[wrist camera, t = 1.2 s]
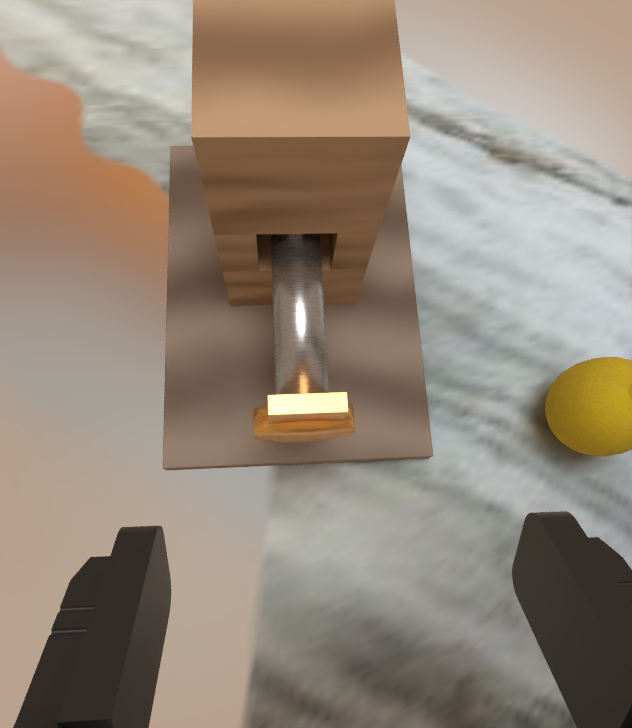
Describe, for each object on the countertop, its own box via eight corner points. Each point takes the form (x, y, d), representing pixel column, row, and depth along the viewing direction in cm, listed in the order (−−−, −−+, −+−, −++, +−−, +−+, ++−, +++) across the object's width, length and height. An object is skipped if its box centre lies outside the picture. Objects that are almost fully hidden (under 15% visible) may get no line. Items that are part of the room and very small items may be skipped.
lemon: (607, 385, 37) (694, 347, 29) (608, 469, 35) (700, 453, 27) (525, 372, 37) (590, 331, 29) (522, 455, 35) (590, 435, 27)
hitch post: (428, 458, 35) (561, 395, 18) (166, 470, 33) (54, 415, 17) (395, 155, 41) (473, -97, 24) (173, 157, 40) (97, -107, 23)
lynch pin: (349, 440, 29) (368, 415, 22) (255, 444, 28) (248, 420, 22) (334, 225, 32) (347, 151, 26) (251, 226, 32) (243, 152, 26)
